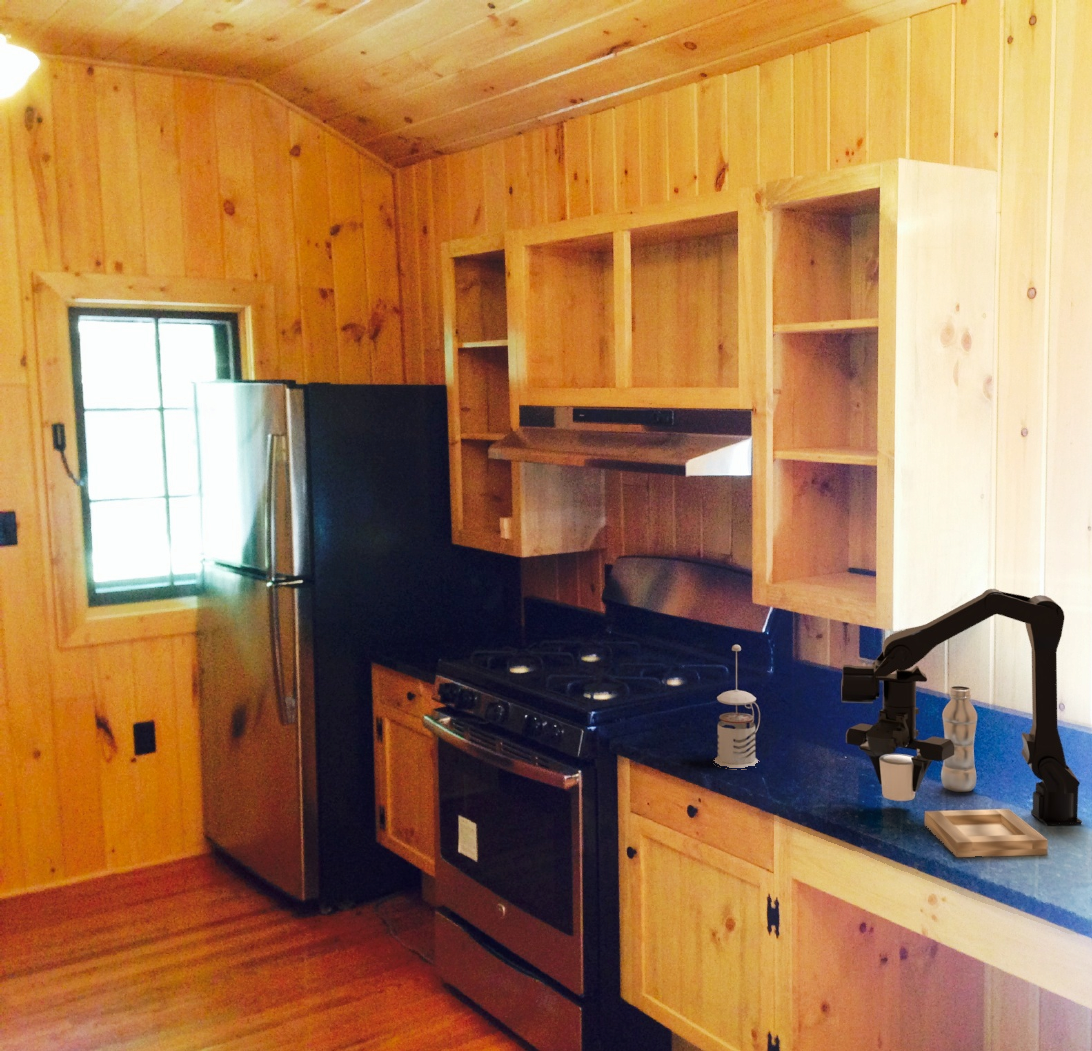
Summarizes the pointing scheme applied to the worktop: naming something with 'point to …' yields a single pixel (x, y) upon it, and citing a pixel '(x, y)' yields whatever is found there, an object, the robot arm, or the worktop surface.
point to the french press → (736, 729)
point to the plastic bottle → (960, 741)
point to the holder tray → (985, 833)
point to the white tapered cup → (897, 777)
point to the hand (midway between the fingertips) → (898, 787)
